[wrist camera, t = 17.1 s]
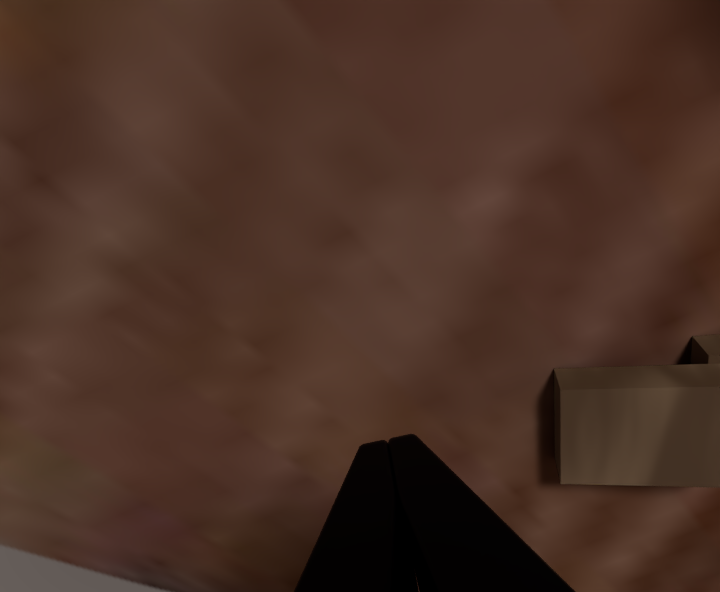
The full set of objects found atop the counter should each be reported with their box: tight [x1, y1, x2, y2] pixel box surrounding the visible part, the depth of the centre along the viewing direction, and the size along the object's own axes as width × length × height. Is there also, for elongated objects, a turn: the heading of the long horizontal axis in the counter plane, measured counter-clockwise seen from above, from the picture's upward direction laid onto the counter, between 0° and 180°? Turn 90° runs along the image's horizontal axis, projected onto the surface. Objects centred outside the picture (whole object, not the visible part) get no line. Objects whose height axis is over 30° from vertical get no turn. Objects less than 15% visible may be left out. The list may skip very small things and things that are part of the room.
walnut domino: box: [554, 364, 720, 487], centre depth 21 cm, size 2×5×8 cm
